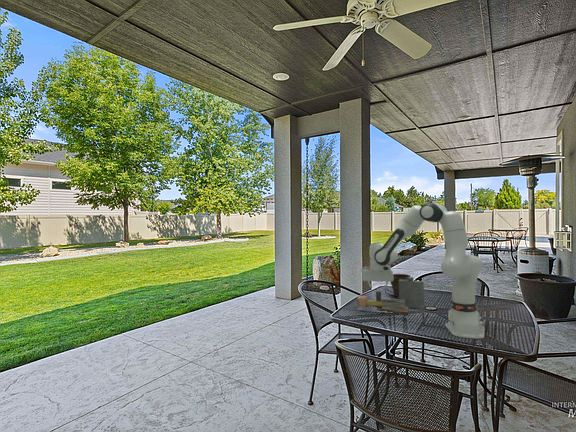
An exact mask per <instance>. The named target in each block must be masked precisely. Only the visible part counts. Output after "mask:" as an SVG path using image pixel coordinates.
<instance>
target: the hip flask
mask: <svg viewBox="0 0 576 432" xmlns="http://www.w3.org/2000/svg"><path fill="white" fill-rule="evenodd" d="M398 299H399V300H405V306H408V308H411V307H413V308H412V309H424V310H425V305H426V304H425V282H424V280H414V277H413V276H410V277H408V280H399V298H398Z"/></svg>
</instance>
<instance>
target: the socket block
mask: <svg viewBox="0 0 576 432" xmlns="http://www.w3.org/2000/svg"><path fill="white" fill-rule="evenodd" d="M367 299H368V295H358V296H357V306H358V307H367V305H366V300H367Z"/></svg>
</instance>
